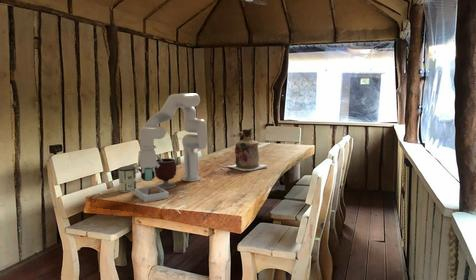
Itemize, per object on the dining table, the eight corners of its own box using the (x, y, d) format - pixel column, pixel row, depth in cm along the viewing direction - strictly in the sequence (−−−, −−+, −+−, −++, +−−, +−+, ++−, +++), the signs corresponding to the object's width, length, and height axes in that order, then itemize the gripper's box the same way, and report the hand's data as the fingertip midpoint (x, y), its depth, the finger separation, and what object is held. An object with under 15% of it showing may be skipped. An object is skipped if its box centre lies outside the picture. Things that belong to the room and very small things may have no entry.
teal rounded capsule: (142, 179, 218) (142, 168, 217) (150, 178, 221) (150, 167, 220) (145, 181, 214) (145, 169, 213) (153, 180, 217) (153, 168, 216)
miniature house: (128, 186, 237) (127, 165, 235) (140, 189, 232) (139, 167, 230) (115, 190, 228) (114, 168, 226) (127, 192, 223) (126, 170, 221)
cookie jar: (248, 163, 313) (248, 126, 309) (268, 168, 294) (269, 128, 290) (225, 167, 297) (225, 127, 293) (245, 172, 278) (245, 130, 274)
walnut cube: (148, 196, 213) (148, 188, 212) (156, 195, 216) (156, 186, 215) (151, 198, 209) (151, 190, 208) (159, 197, 212) (159, 188, 211)
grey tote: (134, 194, 219) (134, 188, 219) (157, 191, 227) (156, 185, 227) (145, 202, 204) (144, 196, 204) (168, 198, 212) (168, 192, 212)
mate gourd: (181, 185, 241) (180, 155, 238) (165, 190, 229) (165, 158, 227) (164, 182, 249) (163, 152, 247) (148, 186, 238) (147, 156, 235)
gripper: (158, 146, 223) (159, 176, 225) (130, 148, 214) (131, 179, 216) (163, 148, 217) (164, 178, 219) (134, 150, 207) (135, 181, 210)
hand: (147, 178), depth 217 cm, fingers closed on teal rounded capsule, 5 cm apart
